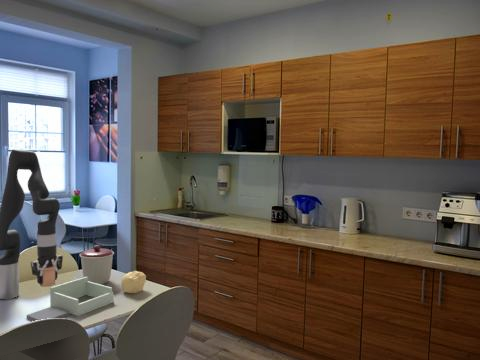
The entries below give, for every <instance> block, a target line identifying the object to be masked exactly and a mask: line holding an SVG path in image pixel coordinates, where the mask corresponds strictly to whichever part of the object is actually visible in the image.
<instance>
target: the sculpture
mask: <svg viewBox="0 0 480 360" xmlns="http://www.w3.org/2000/svg"><path fill="white" fill-rule="evenodd" d="M146 280H147V275H146V274H145V273H144V272H142V271H139V270H138V271H137V270H133V271H129V272H128V273H126V274H124V275H123V276H122V279H121V290H122V291H123V292H125V293H127V294H138V293H140V292H141V291H143V290H144V287H145V283H146Z"/></svg>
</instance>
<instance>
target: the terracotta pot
mask: <svg viewBox="0 0 480 360" xmlns="http://www.w3.org/2000/svg"><path fill="white" fill-rule="evenodd" d="M40 268H43V267H40ZM55 268H56V266H53V265H52V266H50V267H46V268H44V271H43V274H42V276H43V284H39V286H40V287H43V288H45V287H46V288H47V287H54V286H56V280H55ZM40 271H41V270H40Z"/></svg>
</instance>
